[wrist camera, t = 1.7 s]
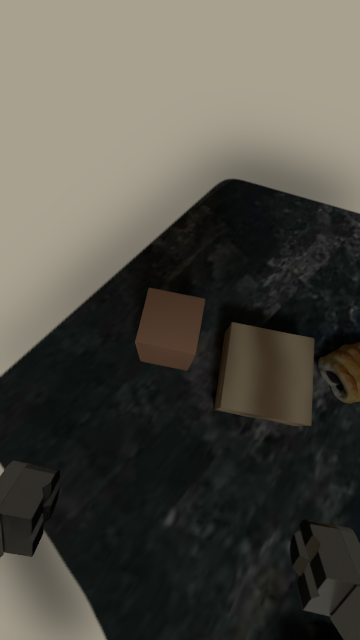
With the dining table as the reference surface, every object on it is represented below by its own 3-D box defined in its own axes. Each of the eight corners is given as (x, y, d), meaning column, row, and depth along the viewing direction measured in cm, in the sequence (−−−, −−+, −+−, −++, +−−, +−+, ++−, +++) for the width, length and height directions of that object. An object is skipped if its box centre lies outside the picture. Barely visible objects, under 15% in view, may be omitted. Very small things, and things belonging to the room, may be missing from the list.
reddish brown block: (195, 326, 40) (205, 298, 31) (187, 370, 38) (195, 354, 29) (151, 317, 40) (148, 287, 31) (140, 361, 38) (135, 342, 29)
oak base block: (299, 347, 40) (314, 338, 36) (295, 425, 36) (311, 425, 33) (225, 332, 40) (232, 322, 36) (214, 409, 36) (220, 407, 33)
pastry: (364, 332, 41) (384, 323, 38) (396, 376, 40) (420, 371, 36) (309, 362, 39) (325, 356, 36) (340, 410, 38) (360, 409, 34)
